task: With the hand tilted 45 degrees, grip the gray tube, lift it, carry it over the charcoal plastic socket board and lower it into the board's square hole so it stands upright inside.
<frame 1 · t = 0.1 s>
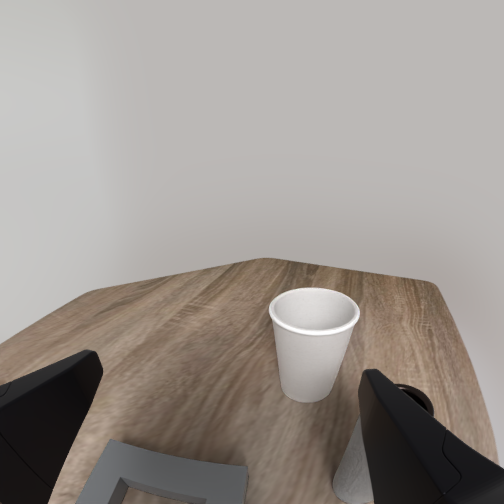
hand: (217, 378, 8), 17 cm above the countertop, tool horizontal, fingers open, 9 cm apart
gray tube: (358, 484, 16), on the countertop
dixie cup: (306, 385, 29), on the countertop
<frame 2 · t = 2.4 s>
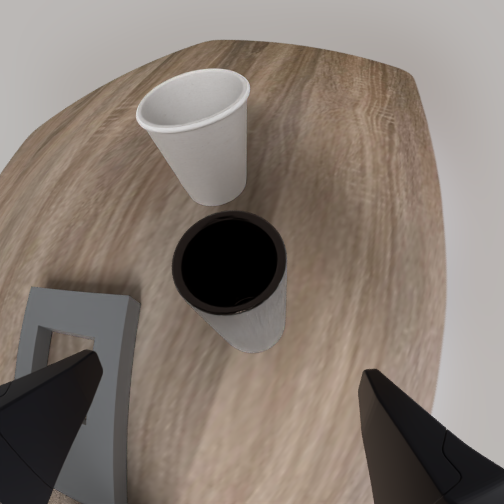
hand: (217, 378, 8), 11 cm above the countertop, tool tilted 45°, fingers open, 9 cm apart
gray tube: (253, 322, 20), on the countertop
dixie cup: (217, 183, 27), on the countertop
socket board: (70, 397, 18), on the countertop
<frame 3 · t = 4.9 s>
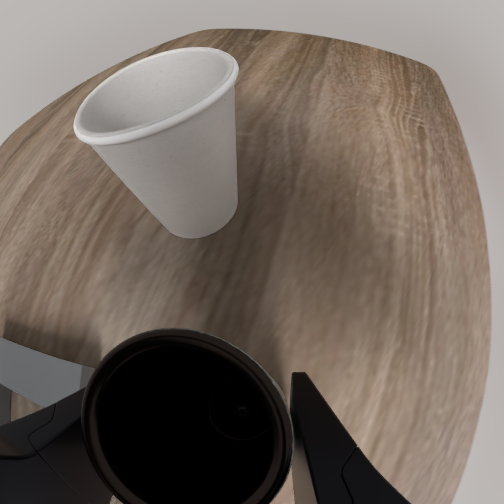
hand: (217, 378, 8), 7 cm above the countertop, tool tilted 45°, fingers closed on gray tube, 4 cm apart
gray tube: (243, 408, 14), on the countertop, touching gripper
dixie cup: (198, 205, 20), on the countertop
socket board: (35, 461, 11), on the countertop
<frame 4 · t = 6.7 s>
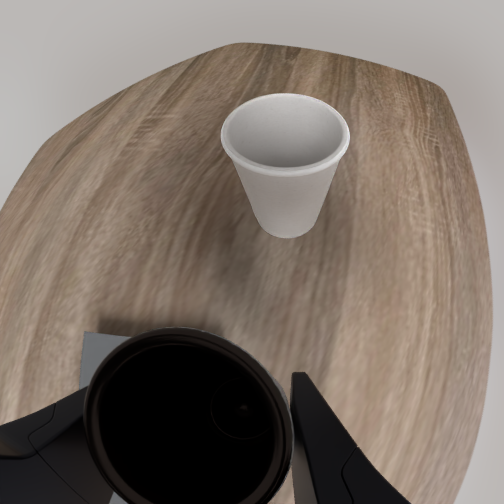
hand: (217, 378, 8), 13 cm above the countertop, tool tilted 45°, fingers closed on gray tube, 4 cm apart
gray tube: (245, 407, 14), point 6 cm above the countertop, touching gripper
dixie cup: (286, 212, 26), on the countertop
socket board: (149, 446, 18), on the countertop
when the fingers open (9 cm above the countertop, at t = 9.0 s): gray tube drops 3 cm, resting in socket board.
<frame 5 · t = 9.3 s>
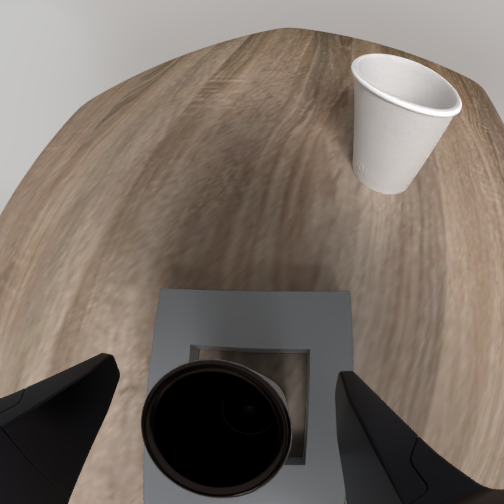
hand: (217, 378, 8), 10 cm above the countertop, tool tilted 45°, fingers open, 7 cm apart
gray tube: (250, 407, 16), resting in socket board
dixie cup: (381, 172, 24), on the countertop
socket board: (247, 434, 15), on the countertop
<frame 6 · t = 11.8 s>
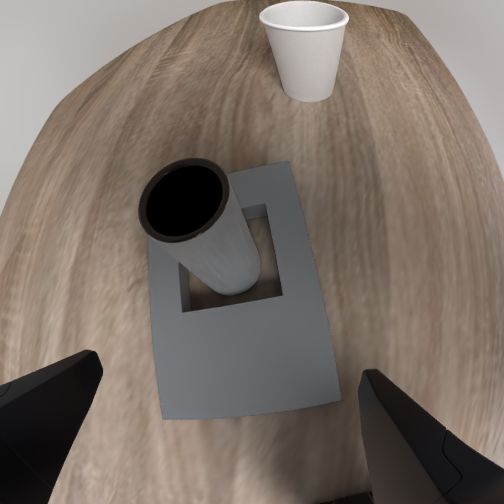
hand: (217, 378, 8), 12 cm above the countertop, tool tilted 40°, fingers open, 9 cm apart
gray tube: (232, 267, 22), resting in socket board
dixie cup: (308, 88, 28), on the countertop
socket board: (234, 290, 21), on the countertop
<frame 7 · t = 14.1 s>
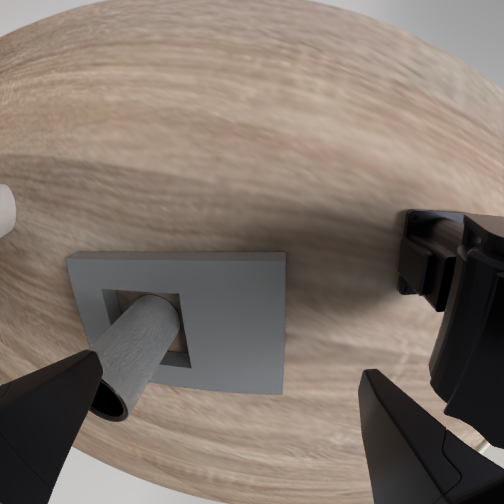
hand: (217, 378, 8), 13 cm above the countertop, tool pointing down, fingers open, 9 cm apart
gray tube: (157, 316, 24), resting in socket board
dixie cup: (4, 208, 22), on the countertop
socket board: (175, 320, 23), on the countertop
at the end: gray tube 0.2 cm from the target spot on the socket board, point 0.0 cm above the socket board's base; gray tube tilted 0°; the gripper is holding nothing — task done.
